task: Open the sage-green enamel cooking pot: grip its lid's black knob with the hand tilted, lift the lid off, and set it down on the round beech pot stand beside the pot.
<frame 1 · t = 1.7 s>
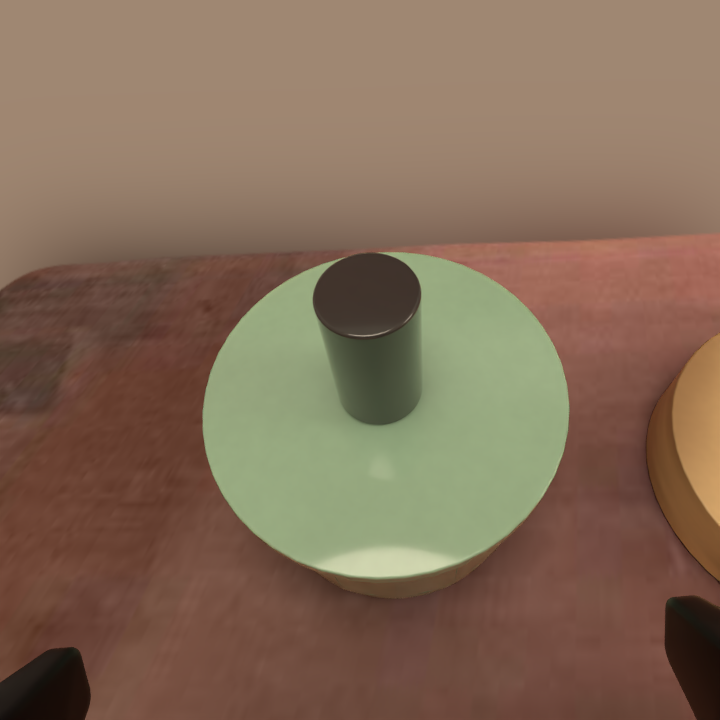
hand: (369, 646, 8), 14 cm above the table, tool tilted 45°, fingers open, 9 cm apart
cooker: (391, 466, 24), on the table
cooker lid: (381, 395, 19), point 7 cm above the table, touching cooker
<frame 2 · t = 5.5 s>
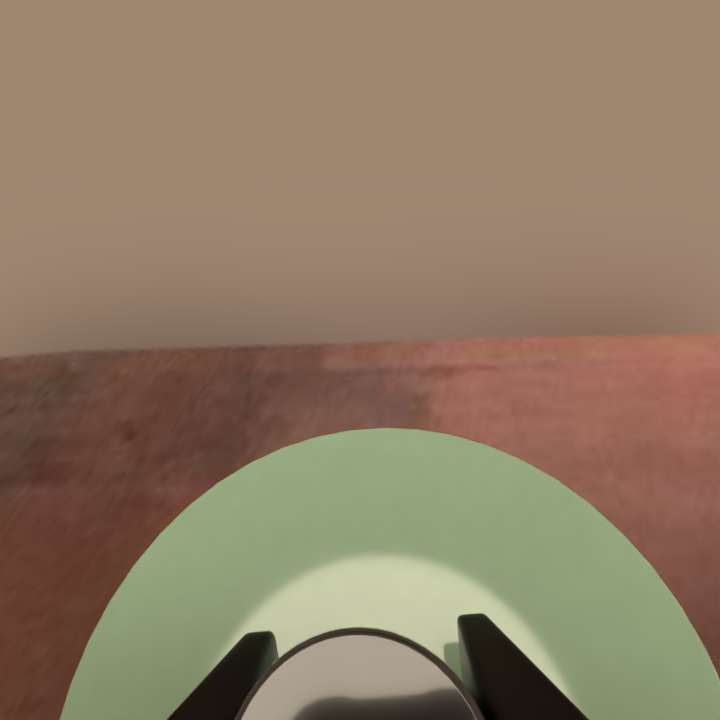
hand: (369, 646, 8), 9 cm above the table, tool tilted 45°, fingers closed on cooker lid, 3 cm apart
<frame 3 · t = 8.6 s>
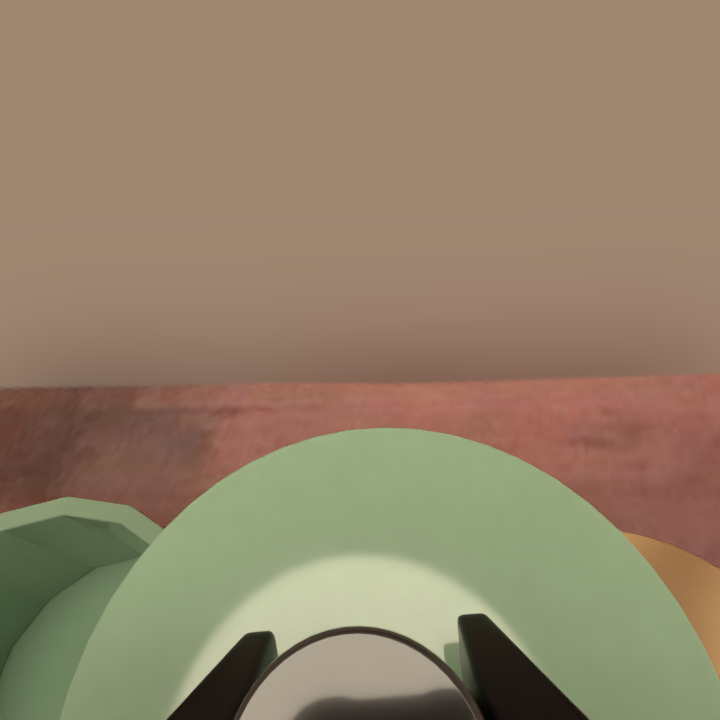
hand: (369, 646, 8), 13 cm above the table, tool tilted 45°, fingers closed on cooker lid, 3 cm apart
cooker: (128, 698, 20), on the table
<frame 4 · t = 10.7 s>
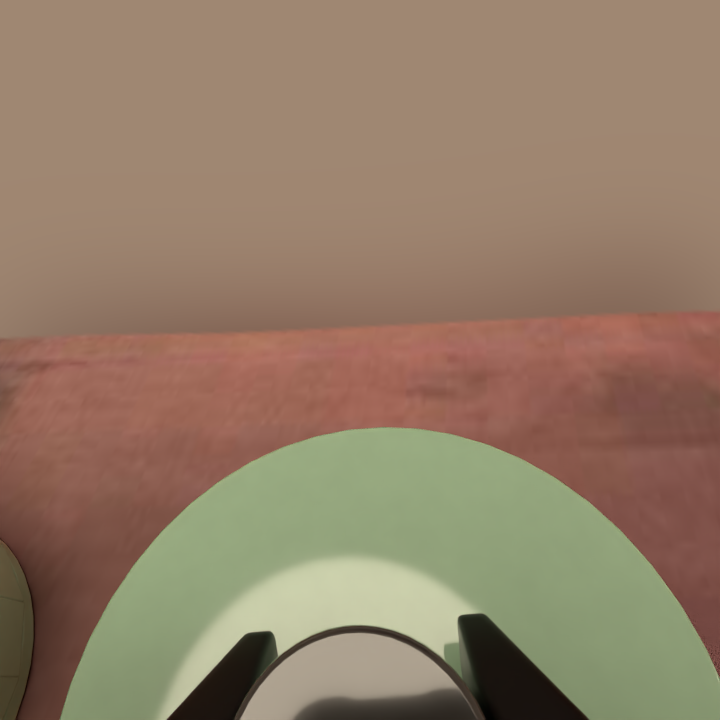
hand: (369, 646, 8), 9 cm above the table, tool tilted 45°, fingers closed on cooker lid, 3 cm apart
when the fingers open (6 cm above the table, at t = 11.8 s): cooker lid stays where it is, resting on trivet.
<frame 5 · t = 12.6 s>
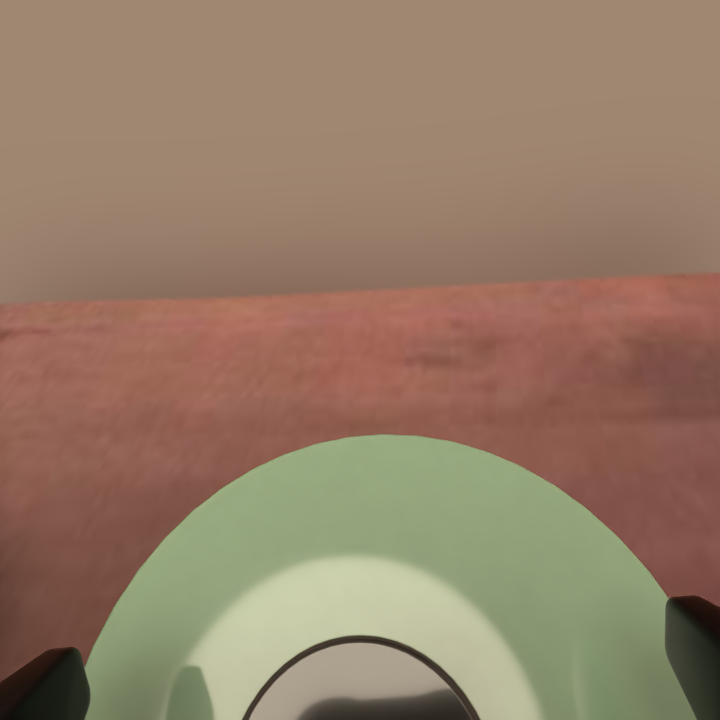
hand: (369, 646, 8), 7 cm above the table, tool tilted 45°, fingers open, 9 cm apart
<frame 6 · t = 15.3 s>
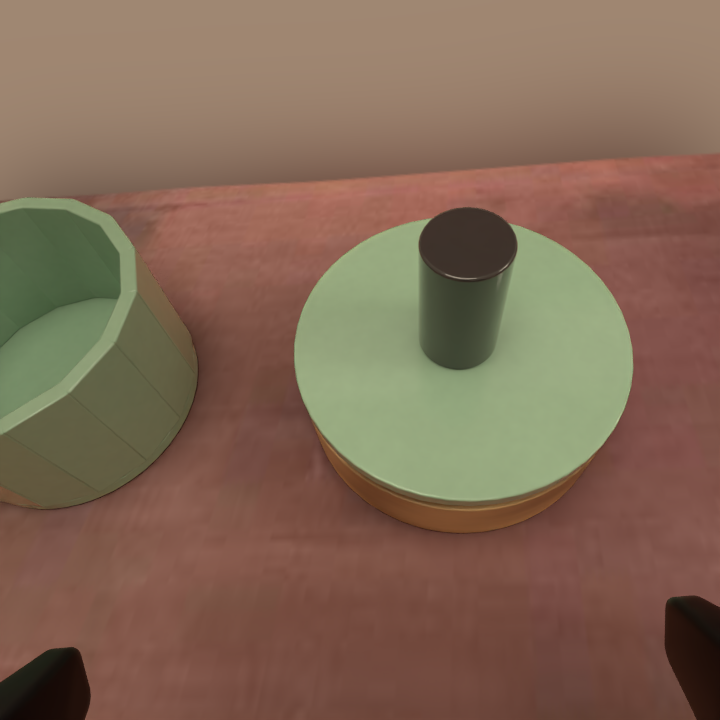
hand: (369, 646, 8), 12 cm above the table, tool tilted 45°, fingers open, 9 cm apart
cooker: (82, 391, 25), on the table
cooker lid: (456, 345, 21), point 4 cm above the table, touching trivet
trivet: (452, 390, 24), on the table
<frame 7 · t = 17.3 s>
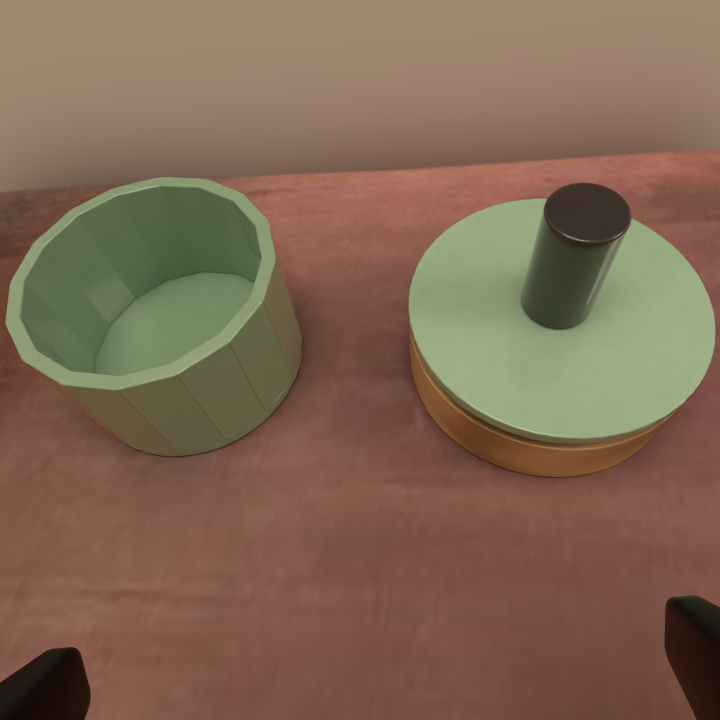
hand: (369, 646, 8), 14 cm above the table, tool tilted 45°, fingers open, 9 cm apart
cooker: (196, 355, 28), on the table
cooker lid: (552, 310, 23), point 4 cm above the table, touching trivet
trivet: (537, 355, 26), on the table
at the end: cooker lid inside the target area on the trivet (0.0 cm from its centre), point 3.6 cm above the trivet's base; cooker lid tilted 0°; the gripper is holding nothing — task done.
